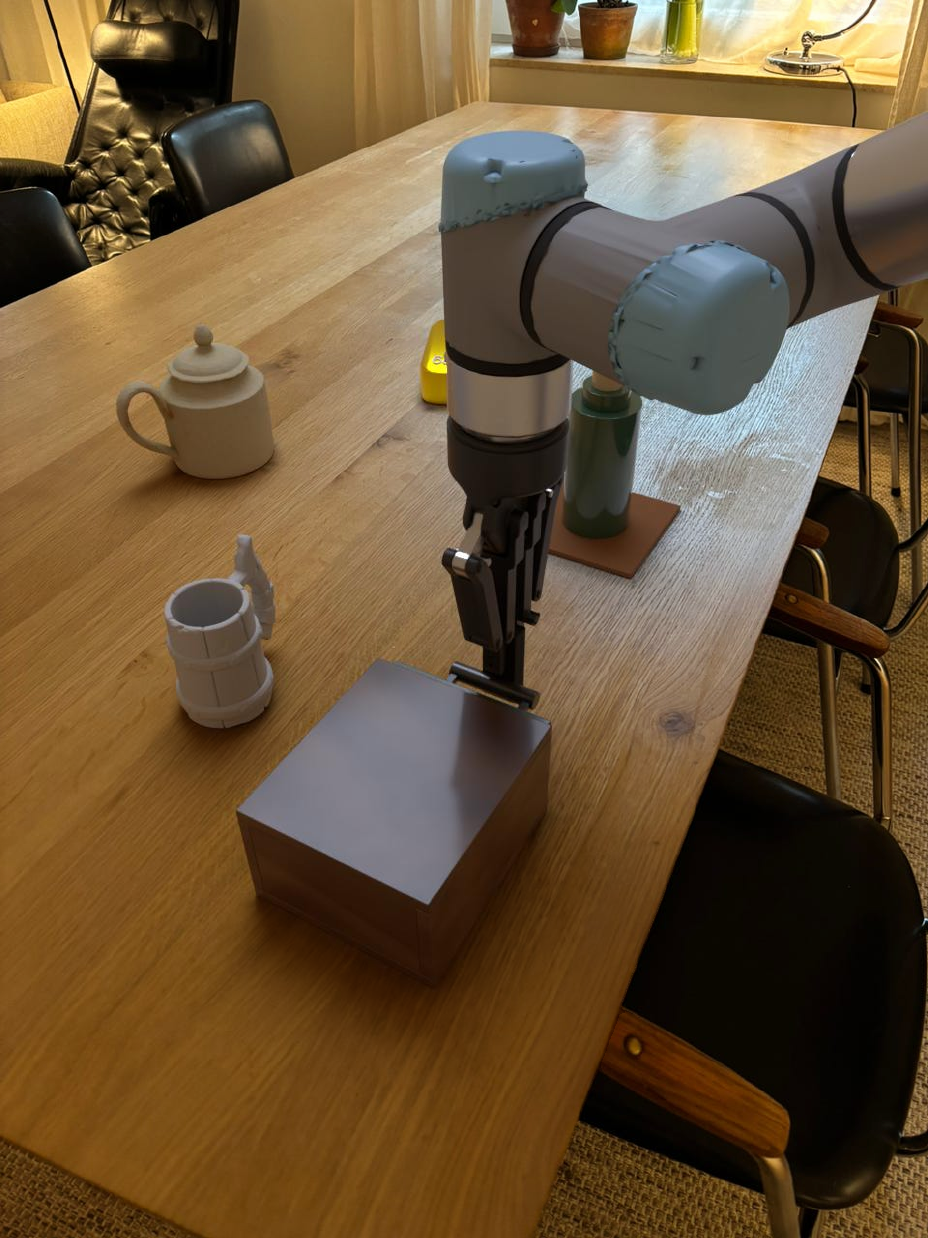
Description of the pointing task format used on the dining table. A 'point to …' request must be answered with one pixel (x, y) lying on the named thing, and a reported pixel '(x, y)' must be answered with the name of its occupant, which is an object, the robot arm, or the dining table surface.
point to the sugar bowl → (208, 411)
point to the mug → (223, 643)
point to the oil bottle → (600, 458)
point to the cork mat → (615, 537)
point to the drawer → (488, 687)
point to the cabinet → (398, 816)
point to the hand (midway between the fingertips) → (502, 691)
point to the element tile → (434, 366)
